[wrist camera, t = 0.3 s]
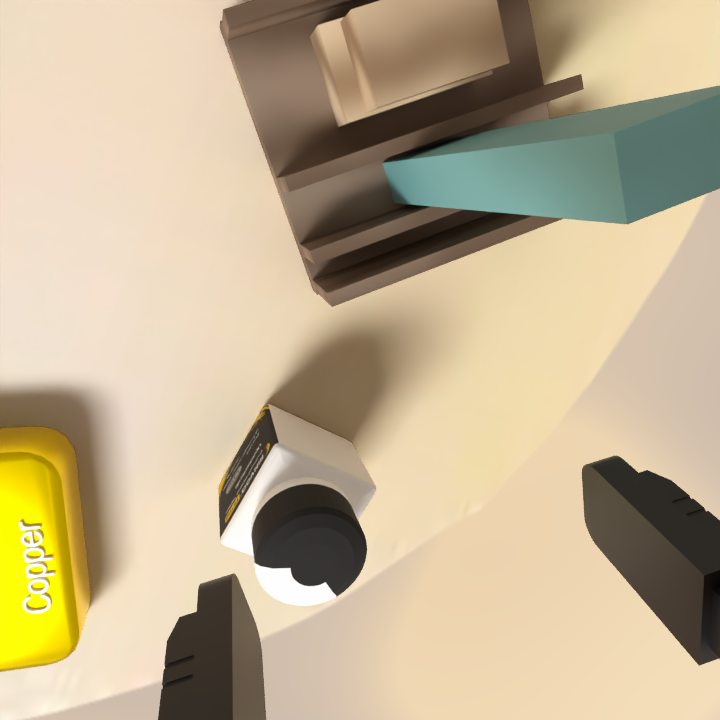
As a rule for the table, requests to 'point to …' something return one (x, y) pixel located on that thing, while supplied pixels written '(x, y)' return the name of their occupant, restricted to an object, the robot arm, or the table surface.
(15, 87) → the table surface
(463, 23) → the upper oak offcut
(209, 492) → the table surface
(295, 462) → the medicine bottle
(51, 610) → the element tile
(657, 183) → the teal board
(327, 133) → the wooden rack
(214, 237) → the table surface
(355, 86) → the lower oak offcut
